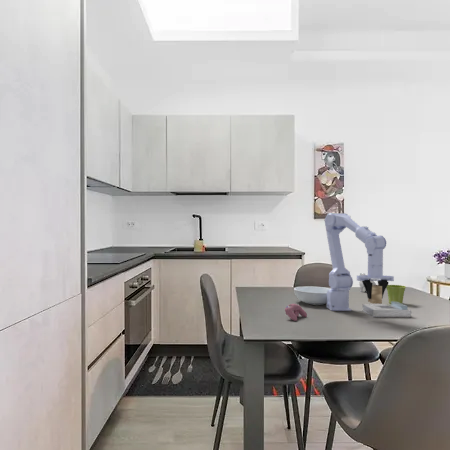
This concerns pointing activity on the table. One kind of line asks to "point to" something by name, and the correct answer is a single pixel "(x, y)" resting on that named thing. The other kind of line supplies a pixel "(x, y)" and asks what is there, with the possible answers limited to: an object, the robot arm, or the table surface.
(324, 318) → the table surface
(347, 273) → the robot arm
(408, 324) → the table surface
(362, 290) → the dog figurine
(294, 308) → the video game controller
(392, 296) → the plant pot
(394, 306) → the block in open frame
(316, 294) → the serving bowl
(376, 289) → the tan tall block
